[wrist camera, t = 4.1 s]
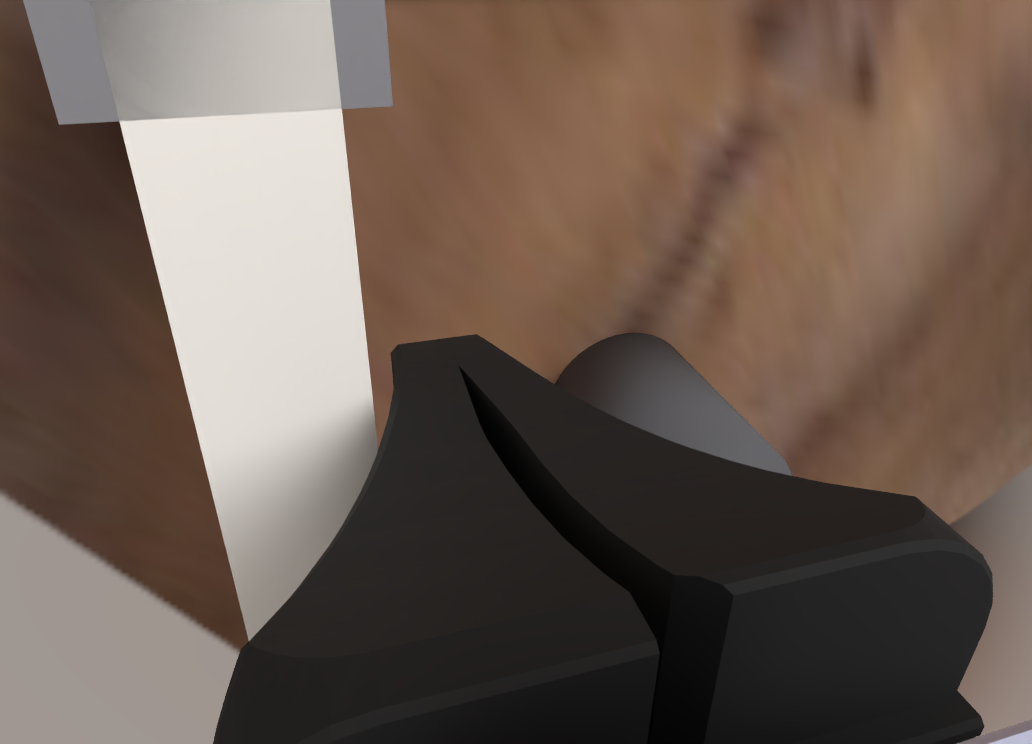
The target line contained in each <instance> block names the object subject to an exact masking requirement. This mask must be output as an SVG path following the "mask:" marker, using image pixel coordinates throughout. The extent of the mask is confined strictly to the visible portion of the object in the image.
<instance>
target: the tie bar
mask: <svg viewBox="0 0 1032 744" xmlns="http://www.w3.org/2000/svg"><path fill="white" fill-rule="evenodd" d="M23 2H24V5H25V9H26V12H27V16H28V19H29V23H30V26H31V30H32V33H33V36H34V40H35V43H36V47H37V50H38V54H39V57H40V61H41V64H42V68H43V71H44V75H45V78H46V82H47V85H48V89H49V92H50V95H51V99H52V102H53V106H54V109H55V113H56V116H57V120H58V123H59V125H62V124H80V123H98V122H116V121H119V122H120V126H121V130H122V134H123V138H124V142H125V146H126V150H127V154H128V158H129V162H130V166H131V170H132V174H133V178H134V182H135V186H136V190H137V194H138V198H139V202H140V206H141V210H142V214H143V218H144V222H145V226H146V230H147V234H148V238H149V242H150V246H151V250H152V254H153V258H154V262H155V266H156V270H157V274H158V278H159V282H160V286H161V290H162V294H163V298H164V302H165V306H166V310H167V314H168V318H169V322H170V326H171V330H172V334H173V338H174V342H175V346H176V350H177V354H178V358H179V362H180V366H181V370H182V374H183V378H184V383H185V387H186V391H187V395H188V399H189V403H190V407H191V411H192V415H193V419H194V423H195V427H196V431H197V435H198V439H199V443H200V447H201V451H202V455H203V459H204V463H205V467H206V471H207V475H208V479H209V483H210V487H211V491H212V495H213V499H214V503H215V507H216V511H217V515H218V519H219V523H220V527H221V531H222V535H223V539H224V543H225V547H226V551H227V555H228V559H229V563H230V567H231V571H232V575H233V579H234V583H235V587H236V591H237V595H238V599H239V603H240V607H241V611H242V615H243V619H244V623H245V627H246V631H247V635H248V639H249V641H250V640H251V639H252V638H253V637H254V636H255V634H256V633H257V632H258V631H259V630H260V629H261V628H262V627H263V626H264V625H265V624H266V623H267V622H268V620H269V619H270V618H271V617H272V616H273V615H274V614H275V613H276V612H277V611H278V610H279V609H280V608H281V606H282V605H283V604H284V603H285V602H286V601H287V600H288V599H289V598H290V597H291V595H292V594H293V593H294V592H295V590H296V589H297V588H298V587H299V586H300V584H301V583H302V582H303V580H304V579H305V578H306V576H307V575H308V573H309V572H310V571H311V569H312V568H313V567H314V565H315V564H316V563H317V561H318V560H319V559H320V557H321V556H322V555H323V553H324V552H325V550H326V549H327V548H328V546H329V545H330V544H331V542H332V541H333V539H334V537H335V536H336V534H337V533H338V531H339V530H340V528H341V526H342V525H343V523H344V521H345V519H346V518H347V516H348V514H349V512H350V510H351V509H352V507H353V505H354V503H355V501H356V500H357V498H358V496H359V494H360V492H361V490H362V488H363V485H364V483H365V481H366V479H367V477H368V475H369V472H370V470H371V468H372V465H373V463H374V460H375V458H376V455H377V452H378V445H377V435H376V426H375V417H374V407H373V398H372V389H371V379H370V370H369V360H368V351H367V342H366V332H365V323H364V314H363V304H362V295H361V286H360V276H359V267H358V257H357V248H356V239H355V229H354V220H353V211H352V201H351V192H350V183H349V173H348V164H347V155H346V145H345V136H344V126H343V117H342V109H351V108H370V107H388V106H393V104H392V90H391V77H390V63H389V50H388V36H387V23H386V10H385V0H23Z"/></svg>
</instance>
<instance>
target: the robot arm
mask: <svg viewBox="0 0 1032 744" xmlns="http://www.w3.org/2000/svg"><path fill="white" fill-rule="evenodd" d="M391 361H392V372H393V383H394V391H393V396H392V402H391V407H390V412H389V417H388V420H387V424H386V427H385V430H384V433H383V437H382V440H381V443H380V446H379V449H378V452H377V455H376V458H375V460H374V463H373V465H372V468H371V470H370V472H369V475H368V477H367V479H366V481H365V483H364V485H363V488H362V490H361V492H360V494H359V496H358V498H357V500H356V501H355V503H354V505H353V507H352V509H351V510H350V512H349V514H348V516H347V518H346V519H345V521H344V523H343V525H342V526H341V528H340V530H339V531H338V533H337V534H336V536H335V537H334V539H333V541H332V542H331V544H330V545H329V546H328V548H327V549H326V550H325V552H324V553H323V555H322V556H321V557H320V559H319V560H318V561H317V563H316V564H315V565H314V567H313V568H312V569H311V571H310V572H309V573H308V575H307V576H306V578H305V579H304V580H303V582H302V583H301V584H300V586H299V587H298V588H297V589H296V590H295V592H294V593H293V594H292V595H291V597H290V598H289V599H288V600H287V601H286V602H285V603H284V604H283V605H282V606H281V608H280V609H279V610H278V611H277V612H276V613H275V614H274V615H273V616H272V617H271V618H270V619H269V620H268V622H267V623H266V624H265V625H264V626H263V627H262V628H261V629H260V630H259V631H258V632H257V633H256V634H255V636H254V637H253V638H252V639H251V640H250V641H249V642H248V643H247V644H246V645H245V646H244V647H243V648H242V649H241V651H240V654H239V657H238V659H237V662H236V665H235V668H234V671H233V675H232V678H231V681H230V684H229V687H228V690H227V693H226V696H225V700H224V703H223V707H222V710H221V714H220V717H219V721H218V725H217V728H216V733H215V737H214V742H213V744H1032V720H1029V721H1026V722H1023V723H1020V724H1017V725H1013V726H1010V727H1007V728H1004V729H1001V730H998V731H995V732H991V733H988V734H985V735H982V736H979V735H980V734H981V732H982V730H983V728H984V724H983V721H982V718H981V716H980V715H979V714H978V713H977V712H976V710H975V709H974V708H973V707H972V706H971V705H970V704H969V703H968V702H967V701H966V700H965V699H964V697H963V696H961V694H960V693H959V692H958V691H957V689H958V687H959V685H960V682H961V680H962V678H963V676H964V674H965V671H966V669H967V667H968V665H969V662H970V660H971V658H972V656H973V654H974V651H975V649H976V647H977V645H978V642H979V640H980V638H981V635H982V633H983V631H984V629H985V626H986V623H987V620H988V616H989V613H990V610H991V607H992V601H993V584H992V572H991V570H990V568H989V566H988V564H987V563H986V560H985V559H984V557H983V555H982V554H981V553H980V552H979V551H978V550H976V549H975V548H974V547H973V546H972V545H971V544H969V543H968V542H967V541H966V540H965V539H964V538H962V537H961V536H960V535H959V534H958V533H957V532H956V531H954V530H953V529H952V528H951V527H950V526H949V525H948V524H946V523H945V522H944V521H943V520H942V519H941V518H940V517H938V516H937V515H936V514H935V513H934V512H933V511H932V510H930V509H929V508H928V507H927V506H926V505H925V504H923V503H922V502H921V501H920V500H919V499H918V498H916V497H914V496H908V495H901V494H894V493H888V492H881V491H874V490H868V489H861V488H855V487H848V486H841V485H835V484H828V483H823V482H818V481H813V480H808V479H804V478H799V477H795V476H790V475H786V474H781V473H777V472H772V471H768V470H764V469H760V468H756V467H752V466H749V465H745V464H741V463H737V462H734V461H730V460H727V459H724V458H721V457H718V456H714V455H711V454H708V453H705V452H702V451H699V450H695V449H692V448H689V447H686V446H684V445H681V444H678V443H675V442H673V441H670V440H667V439H665V438H662V437H660V436H657V435H655V434H653V433H650V432H648V431H645V430H643V429H641V428H638V427H636V426H633V425H631V424H629V423H626V422H624V421H622V420H620V419H618V418H616V417H614V416H612V415H610V414H608V413H606V412H604V411H602V410H600V409H598V408H596V407H594V406H592V405H590V404H589V403H587V402H585V401H583V400H581V399H579V398H577V397H575V396H574V395H572V394H570V393H568V392H567V391H565V390H563V389H562V388H560V387H558V386H556V385H555V384H553V383H552V382H550V381H548V380H547V379H545V378H543V377H542V376H540V375H539V374H537V373H535V372H534V371H532V370H531V369H529V368H528V367H526V366H525V365H523V364H522V363H520V362H518V361H517V360H515V359H514V358H512V357H511V356H509V355H508V354H506V353H505V352H503V351H502V350H500V349H499V348H497V347H496V346H494V345H493V344H491V343H490V342H488V341H487V340H485V339H483V338H482V337H480V336H478V335H476V334H475V335H467V336H460V337H452V338H445V339H437V340H430V341H422V342H415V343H407V344H399V345H397V346H396V348H395V349H394V350H393V351H392V352H391ZM976 736H979V737H976ZM975 737H976V738H975Z"/></svg>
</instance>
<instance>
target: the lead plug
mask: <svg viewBox="0 0 1032 744" xmlns="http://www.w3.org/2000/svg"><path fill="white" fill-rule="evenodd" d="M555 385H556V386H558V387H560V388H562V389H563V390H565V391H567V392H568V393H570V394H572V395H574V396H575V397H577V398H579V399H581V400H583V401H585V402H587V403H589V404H590V405H592V406H594V407H596V408H598V409H600V410H602V411H604V412H606V413H608V414H610V415H612V416H614V417H616V418H618V419H620V420H622V421H624V422H626V423H629V424H631V425H633V426H636V427H638V428H641V429H643V430H645V431H648V432H650V433H653V434H655V435H657V436H660V437H662V438H665V439H667V440H670V441H673V442H675V443H678V444H681V445H684V446H686V447H689V448H692V449H695V450H699V451H702V452H705V453H708V454H711V455H714V456H718V457H721V458H724V459H727V460H730V461H734V462H737V463H741V464H745V465H749V466H752V467H756V468H760V469H764V470H768V471H772V472H777V473H781V474H786V475H790V476H792V474H791V471H790V468H789V466H788V465H787V463H786V461H785V460H784V459H783V458H782V457H781V455H780V454H779V453H778V452H777V451H776V450H775V449H774V448H773V447H772V446H771V445H770V444H769V443H768V442H767V441H766V440H765V439H764V438H763V437H762V436H761V435H760V434H759V433H758V432H757V431H756V430H755V429H754V428H753V427H752V426H751V425H750V424H749V423H748V422H747V421H746V420H745V419H744V418H743V417H742V416H741V415H740V414H739V413H738V412H737V411H736V410H735V409H734V408H733V407H732V406H731V405H730V404H729V403H728V402H727V401H726V400H725V399H724V398H723V397H722V396H721V395H720V394H719V393H718V392H717V391H716V390H715V389H714V388H713V387H712V386H711V385H710V384H709V383H708V382H707V381H706V380H705V379H704V378H703V377H702V376H701V375H700V374H699V373H698V372H697V371H696V370H695V369H694V368H693V367H692V366H691V365H690V364H689V363H688V362H687V361H686V360H685V359H684V358H683V357H682V356H681V355H680V354H679V353H678V352H677V351H676V350H675V349H674V348H673V347H672V346H671V345H670V344H669V343H667V342H666V341H664V340H662V339H660V338H658V337H656V336H653V335H649V334H644V333H626V334H620V335H615V336H612V337H609V338H606V339H604V340H601V341H599V342H597V343H595V344H594V345H592V346H590V347H588V348H587V349H586V350H584V351H583V352H582V353H580V354H579V355H578V356H577V357H576V358H575V359H574V360H572V361H571V363H570V364H569V365H568V366H567V367H566V368H565V370H564V371H563V373H562V374H561V375H560V377H559V379H558V381H557V383H556V384H555Z"/></svg>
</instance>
